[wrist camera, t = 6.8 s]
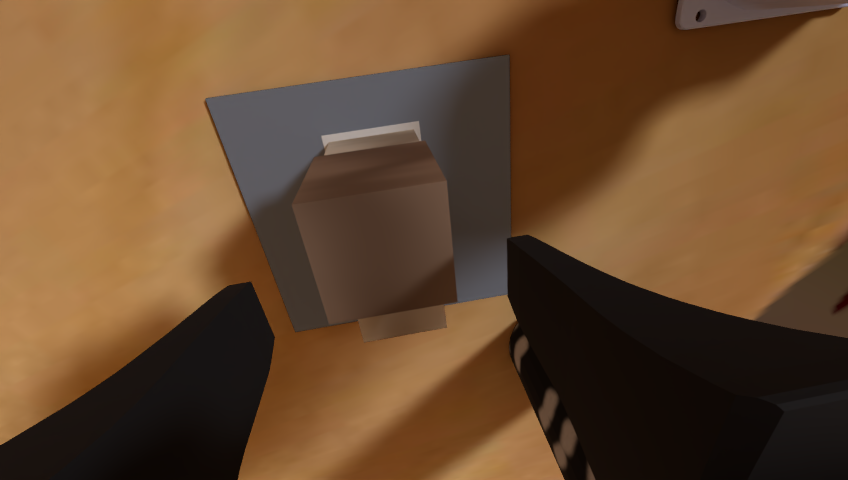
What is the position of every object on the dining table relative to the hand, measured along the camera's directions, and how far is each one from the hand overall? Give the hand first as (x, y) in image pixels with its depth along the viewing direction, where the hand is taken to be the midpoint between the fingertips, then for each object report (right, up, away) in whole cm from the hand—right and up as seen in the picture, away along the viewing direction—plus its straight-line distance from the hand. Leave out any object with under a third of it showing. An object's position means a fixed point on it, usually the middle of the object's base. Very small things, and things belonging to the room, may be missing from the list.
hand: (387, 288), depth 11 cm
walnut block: (-1, +3, +4) cm, 5 cm away
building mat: (-1, +3, +10) cm, 10 cm away
